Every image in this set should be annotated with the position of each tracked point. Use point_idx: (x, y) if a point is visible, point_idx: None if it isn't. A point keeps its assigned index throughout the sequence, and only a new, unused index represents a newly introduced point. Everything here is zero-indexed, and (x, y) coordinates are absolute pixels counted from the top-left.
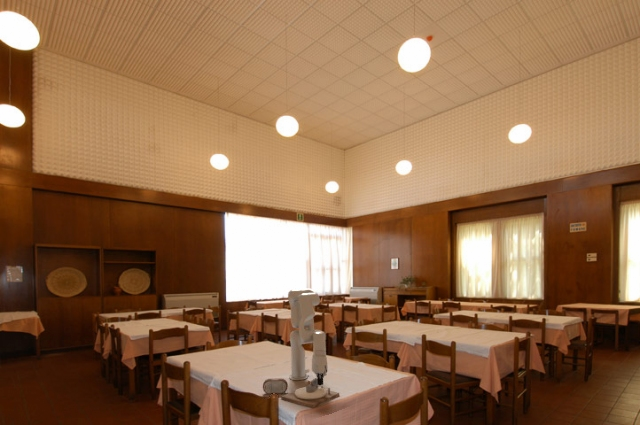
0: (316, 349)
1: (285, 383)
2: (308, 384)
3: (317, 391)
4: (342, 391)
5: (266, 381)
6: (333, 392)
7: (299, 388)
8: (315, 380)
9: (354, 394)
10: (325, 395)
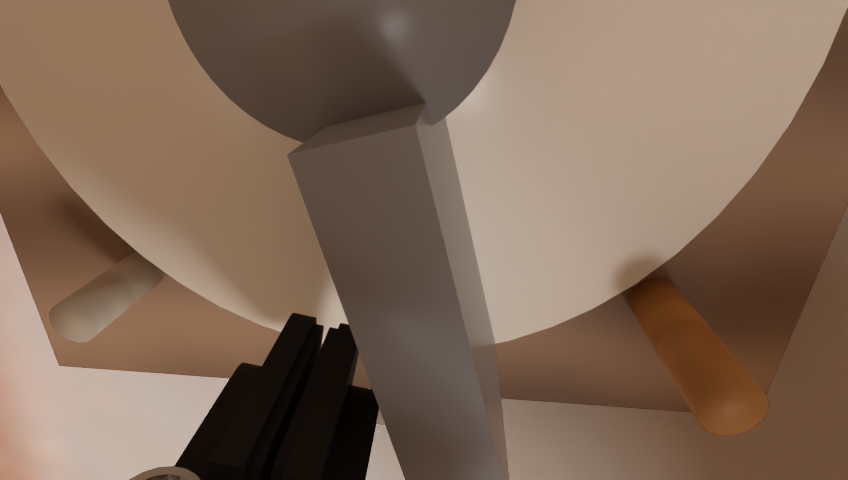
0: None
1: None
2: (692, 333)
3: (221, 96)
4: None
5: None
6: (138, 342)
7: (837, 16)
8: (376, 369)
9: (5, 453)
10: None
